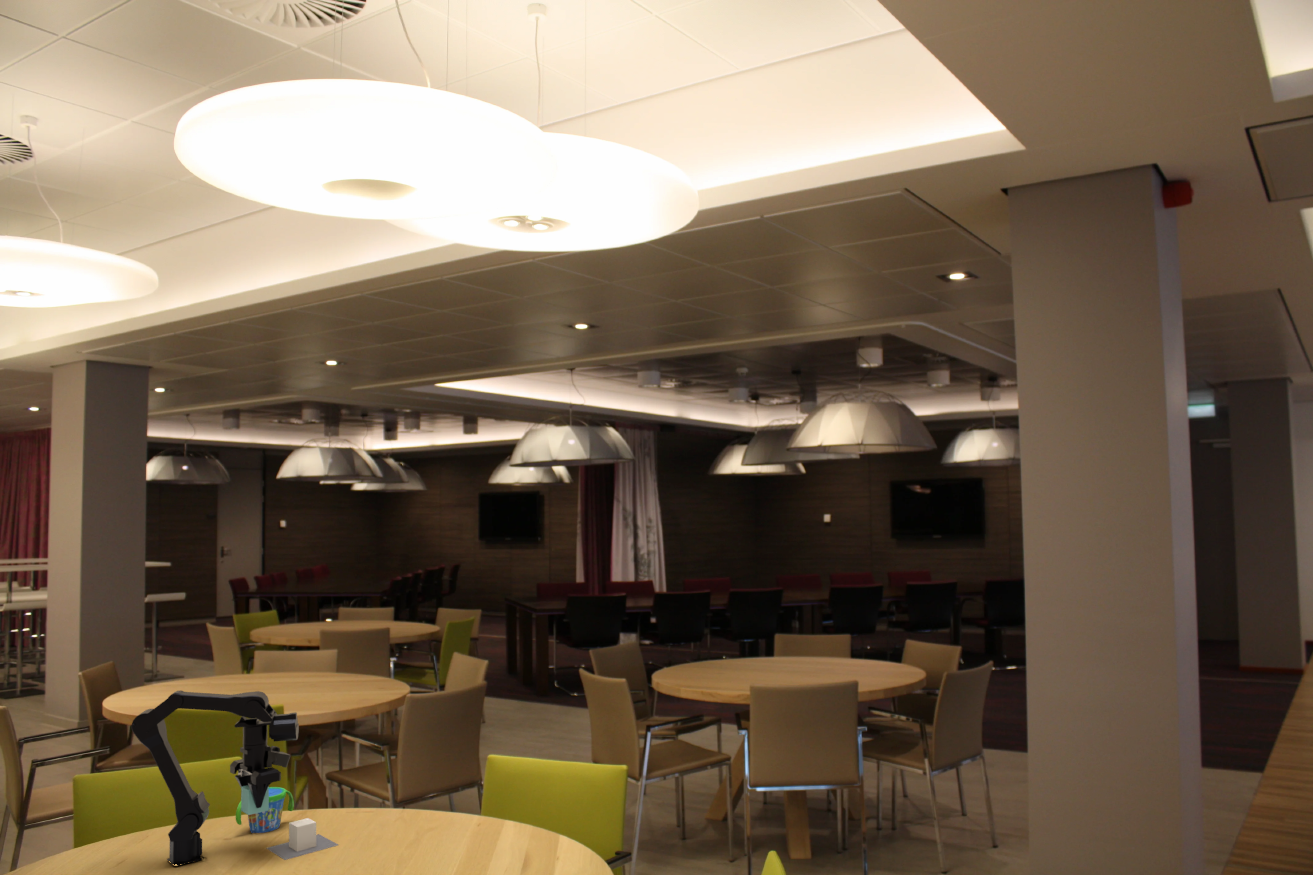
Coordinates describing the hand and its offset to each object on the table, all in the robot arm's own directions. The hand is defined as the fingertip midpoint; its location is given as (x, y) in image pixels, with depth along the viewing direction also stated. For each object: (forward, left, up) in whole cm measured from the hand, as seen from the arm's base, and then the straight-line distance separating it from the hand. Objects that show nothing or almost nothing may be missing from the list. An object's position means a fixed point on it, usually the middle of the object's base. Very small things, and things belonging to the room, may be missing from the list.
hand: (254, 805), depth 240 cm
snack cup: (+9, +16, -12) cm, 22 cm away
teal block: (0, 0, -1) cm, 1 cm away
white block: (+10, -6, -11) cm, 16 cm away
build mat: (+10, -6, -12) cm, 17 cm away
